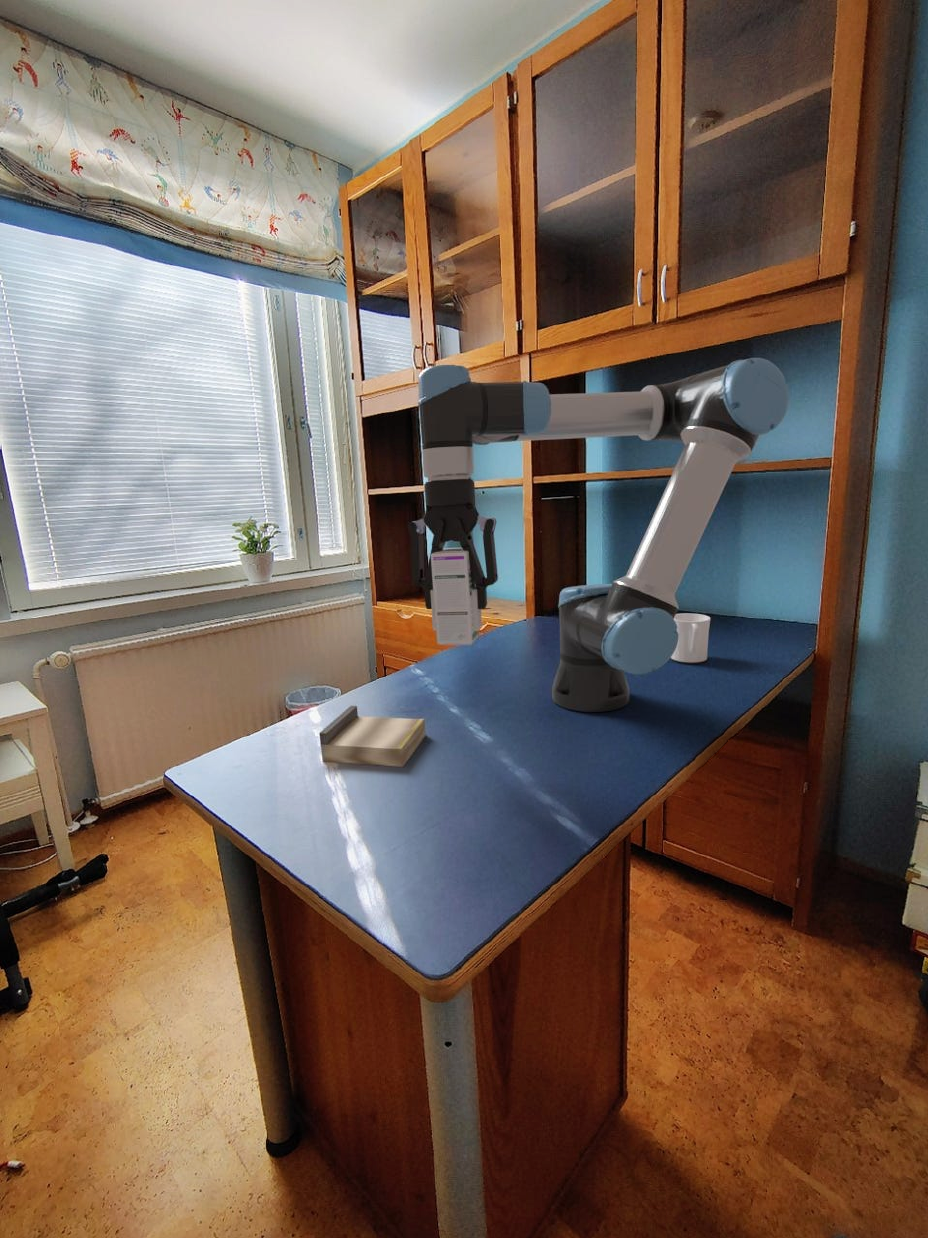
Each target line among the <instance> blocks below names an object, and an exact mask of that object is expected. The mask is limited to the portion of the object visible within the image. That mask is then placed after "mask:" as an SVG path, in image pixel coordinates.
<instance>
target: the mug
mask: <svg viewBox="0 0 928 1238" xmlns="http://www.w3.org/2000/svg"><path fill="white" fill-rule="evenodd" d="M674 621H675V622H676V624H677V629H676V630H677V632H678V633H679V637H678V643H677V647H676V649H675V651H674V653H673V655H672V656H671V657H670V660H671V661H672V662H674V663H677V664H682V665H687V666H688V665H691V666H692V665H696V666H697V665H701V664H704V663H706V662H707V660H708V647H709V636H710V634H709V633H710V626H711V625H710V624H711V617H710V616H708V615H706V614H700V613H687V612H686V613H676V615H675V617H674Z"/></svg>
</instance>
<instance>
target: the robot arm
mask: <svg viewBox="0 0 928 1238" xmlns="http://www.w3.org/2000/svg"><path fill="white" fill-rule="evenodd" d="M781 371H782V370H780V369H779V367H777V366H776V364H774V363H773V362H771V361H770V360H768V359H766V358H762V357H751V358H746V359H738V360H735V361H732V362H730V363H729V364H727V365H725V366H720V367H717V368H714V369H710V370H706V371H704V372H701V373H697V374H694V375H691V376H688V377H685V378H682V379H679V380H675V381H673V382H669V383H668V382H667V383H663V384H651V385H649V384H648V385H646V386H644V387H643V388H642V389H641V390H640V391H622V392H621V391H618V392H592V393H591V392H590V393H587V392H585V393H584V392H583V393H562V394H561V393H556V394H552V393H551V394H550V392H549V388H548V387H547V386H546V385H545V384H544V383H542V382H535V381H534V382H529V381H527V380H523V381H514V382H513V381H512V382H511V381H508V382H507V381H506V382H501V381H500V382H499V381H498V382H477V381H471V376H470V370H469V369H468V368H467V367H466V366H464V365H456V364H440V365H439V364H438V365H432V366H428V367H426V368H423V370H422V371H421V372H420V373H419V375H418V403H417V405H418V412H419V423H420V424H419V425H420V433H421V434H420V436H421V437H420V438H421V447H422V448H421V449H422V451H421V453H422V470H423V472H422V473H423V477H424V478H427V481H425V483H424V484H423V486H424V498H425V499H424V500H425V501H424V502H425V513H424V515H423V518H420V519H418V520H414V521H409V522H408V523H407V525H406V526H407V529H408V532H409V535H410V538H411V541H410V544H411V545H410V547H411V548H410V549H411V583H412V585H413V586H415V587H416V586H417V587H421V588H422V589H423V591H424V603H425V604H424V605H425V608H426V609H427V610H431V619H432V621H431V622H432V631H433V632H436V621H435V608H434V595H433V580H432V566H431V554H432V553H435V552H439V551H441V550H443V549H445V545H446V543H447V542H450V541H452V542H459V545H460V548H463V550H464V551H468V552H469V563H470V570H471V573H472V576H473V579H474V582H475V585H476V587H474V588H473V589H472V590H471V592H472V608H473V629H474V631H480V630H481V629H482V627H483V625H482V610H485V609H486V608H487V605H488V593H487V588H488V587H489V586H493V585H494V584H496V583H497V582H498V579H499V575H498V565H497V564H498V563H497V555H496V545H495V536H494V535H495V529H496V526H497V519H496V518H494V517H491V518H489V517H486V516H483V515H482V516H481V515H480V514H479V512H478V510H477V507H476V489H475V486H476V485H475V481H474V479H472V478H471V476H473V475H474V474H475V473H474V472H475V468H474V448H473V445H476V446H487V445H489V444H493V443H512V442H522V441H523V442H525V441H526V442H528V441H544V440H546V441H547V440H549V441H550V440H565V439H567V440H568V439H585V438H586V439H587V438H588V439H589V438H590V439H591V438H605V437H606V438H608V437H609V438H611V437H627V436H628V437H629V436H632V437H633V436H638V437H639V438H640V439H641V440H643V441H670V442H672V441H673V442H683V444H684V448H683V449H682V451H681V453H680V454H681V455H680V456H679V457H678V460H677V463H676V465H675V467H674V470H673V471H672V474H671V476H670V479H669V480H668V481H667V484H666V486H665V489H664V491H663V494H662V496H661V498H660V500H659V502H658V504H657V506H656V509H655V510H654V513H653V516H652V518H651V520H650V522H649V525H648V526H647V529H646V531H645V533H644V536H643V538H642V540H641V541H640V544H639V547H638V548H637V551H636V552H635V555H634V558H633V560H632V561H631V563H630V566H629V568H628V570H627V572H626V575H624V576H622V577H619V578H617V579H616V580H613V582H612V583H598V584H585V585H583V584H582V585H577V586H569V587H565V588H563V589H562V590H561V591H560V593H559V596H558V597H559V598H558V605H557V606H558V607H557V608H558V617H559V618H558V620H559V621H558V622H559V623H558V624H559V651H560V652H559V656H560V657H559V658H560V660H559V661H560V662H559V665H558V668H557V671H556V674H555V677H554V680H553V684H552V688H551V700H552V701H553V702H554V704H556V705H558V706H560V707H562V708H564V709H567V710H572V711H577V712H583V713H602V712H610V711H616V710H618V709H621V708H624V707H625V706H626V705H628V704H629V702H630V686H629V684H628V680H627V677H626V674H625V673H627V674H632V675H646V674H649V673H650V672H653V671H656V670H658V669H660V668H661V667H662V666H664V665H665V664H667V662H668V661H669V660H671V658H670V657H671V656H672V655H673V653H674V651H675V649H676V647H677V643H678V637H679V633H678V632H677V630H676V629H677V624H676V622H675V621H674V617H675V615H676V614H678V611H679V605H678V602H677V600H676V592H677V590H678V589H679V586H680V583H681V581H682V579H683V577H684V575H685V573H686V571H687V569H688V567H689V564H690V562H691V560H692V558H693V556H694V555H695V551H696V549H697V547H698V545H699V542H700V541H701V540H702V539H701V538H702V536H703V534H704V532H705V530H706V527H707V525H708V523H709V521H710V518H711V517H712V515H713V512H714V510H715V509H716V506H717V504H718V502H719V500H720V497H721V495H722V493H723V491H724V489H725V486H726V484H727V482H728V480H729V478H730V476H731V474H732V472H733V470H734V467H735V464H737V463H738V462H740V461H744V460H746V459H747V458H749V457H750V455H751V453H752V451H753V449H754V447H755V445H756V442H757V441H758V438H759V436H761V435H764V434H768V433H769V432H771V431H773V430H774V429H776V428H777V427H778V426H779V425H780V424H781V423H782V421H783V419H784V418H785V416H786V413H787V411H788V407H789V400H790V399H789V389H788V386H787V385H786V379H785V377H784V374H783V372H781ZM477 524H478V525H479V530H480V532H482V542H483V553H484V561H485V571H486V576H485V573H484V570H483V568H482V564H481V562H480V558H479V555H478V553H477V549H476V547H475V544H474V540H473V536H472V534H471V533H472V531H474V529H475V527H476V525H477ZM425 527H427V528H428V529H429V532H431V534H433V537H432V541H431V550H430V553H429V559H428V563H427V567H426V571H425V561H424V560H425V558H424V555H425V554H424V552H425V550H424V549H425V547H424V541H425V540H424V533H425V530H426V528H425ZM424 571H425V572H424ZM624 672H625V673H624Z"/></svg>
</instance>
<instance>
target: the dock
mask: <svg viewBox="0 0 928 1238" xmlns="http://www.w3.org/2000/svg"><path fill="white" fill-rule="evenodd" d="M425 721H426V720H425V718H404V717H403V718H401V717H400V718H399V717H384V716H383V717H380V716H379V717H378V716H362V715H361V716H360V715H359V713H358V706H357V705H350V706H349V707H347V708H346V709H345V710H344V711H343V712H342V713H341V714H339V716H337V717H336V718H335V719H334V720H333V721H331V722H330V723H329V724H328V725H327V726H325V727H324V728H323V729H322V730H321V731H319V741H320V750H321V751H320V752H321V759H322V760H321V761H322V762H329V763H340V764H341V763H342V764H355V765H370V766H371V765H372V766H383V767H384V766H387V767H399V768H400V767H401V768H403V767H404V766H405V764H406V763H407V761H408V760H409V759H410V757H411V756H412V755H413V753H414V752H415V750H417V748H418V747H419V745H420V744H421V743H422V741H423V739H424V738H425V737H426V734H427V733H426V722H425Z"/></svg>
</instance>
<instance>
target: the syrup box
mask: <svg viewBox="0 0 928 1238" xmlns="http://www.w3.org/2000/svg"><path fill="white" fill-rule="evenodd" d="M431 566H432V580H433V595H434V608H435V621H436V631H435V633H436V642H437V645H443V646H472V645H474V642H475V641H476V640H477V638H478V637H479V636H480V635H479V631H480V630H479V631H474V629H473V608H472V592H471V590H472V589H473V588H474V587H476V585H475V582H474V579H473V576H472V573H471V570H470V563H469V552H468V551H464V550H463V548H462V547H449V548H448V547H447V548H443V550H441V551H439V552H435V553H432V554H431Z"/></svg>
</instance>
